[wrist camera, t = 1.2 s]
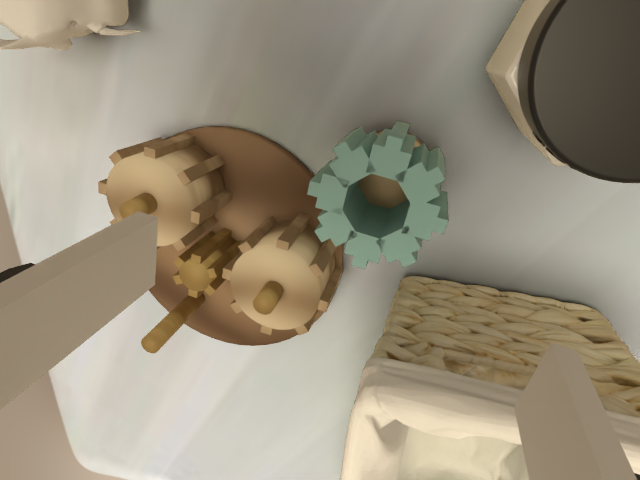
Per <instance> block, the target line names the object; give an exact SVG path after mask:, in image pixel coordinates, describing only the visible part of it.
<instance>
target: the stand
mask: <svg viewBox="0 0 640 480" xmlns="http://www.w3.org/2000/svg"><path fill="white" fill-rule="evenodd" d="M381 132H382V131H380V132H377V135H378V136H379V135H380V134H381ZM407 134H408V135H412V134H410V133H407ZM412 136H413V135H412ZM422 144H423V143H422V142H421V141H420V140H419V139H418V138H416V141H415V145H414V148H416V147H418V146H420V145H422ZM414 148H413V149H414ZM358 186H359V188H360V189H361V191H362V193H363V194H364V196H365V198H366V199H367V201H368V203H370V204H373V205H377V206H380V207H384V208H387V209H391V208H393V207H395V206H397V205H399V204H401V203H403V202H405V201H407V200H408V198H407V197H406V195H405V193H404V191H403V190H402V188H401V186H400V184H399V183H398V181H396V180H393V179H389V178H385V177H382V176H378V175H375V174H369V175H368V176H366V177H364V178H362V179H360V180H359V183H358Z"/></svg>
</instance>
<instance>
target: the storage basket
mask: <svg viewBox="0 0 640 480" xmlns="http://www.w3.org/2000/svg"><path fill="white" fill-rule="evenodd" d="M608 321H609V320H607V319H606V318H604V316H603V315H602V314H600V312H599V311H597V310H594V309H591V308H589V307H588V306H584V305H581V304H575V303H566V302H560V301H558V300H555V299H551V298H543V297H533V296H530V295H527V294H524V293H517V292H500V291H498V290H497V289H494V288H491V287H486V286H481V285H463V284H460V283H457V282H453V281H447V280H434V279H431V278H426V277H420V276H409V277H405V278H403V279H402V280H401V282H400V285H399V288H398V291H397V292H396V294H395V296H394V300H393V302H392V305H391V309H390V313H389V315H388V317H387V319H386V322H385V327H384V329H383V336H382V337H381V338H380V339H379V341H378V343H377V344H376V346H375V350H374V353H373V355H372V356H371V357H370V359H368V360H367V362H366V365H365V367H364V370H363V372H362V376H361V381H360V385H359V389H358V393H357V397H356V400H355V402H354V405H353V408H352V411H351V415H350V420H349V425H348V430H347V436H346V441H345V449H344V456H343V463H342V470H341V477H340V480H529V477H528V472H527V467H526V462H525V458H524V453H523V448H522V443H521V438H520V434H519V429H518V424H517V419H516V414H515V409H514V407H515V405H516V404H517V402H518V400H519V398H520V397H521V395H522V393H523V391H524V389H525V388H526V386H527V384H528V382H529V381H530V379H531V377H532V375H533V374H534V372H535V370H536V368H537V367H538V365H539V363H540V361H541V360H542V358H543V356H544V354H545V353H546V351H547V349H548V347H549V346H550V344H551V343H554V344H558V345H561V346H564V347H567V348H570V349H573V350H576V351H578V353H579V355H580V357H581V359H582V361H583V364H584V366H585V368H586V370H587V372H588V374H589V377H590V379H591V381H592V383H593V385H594V387H595V390H596V392H597V394H598V396H599V398H600V400H601V403H602V405H603V407H604V409H605V411H606V413H607V416H608V418H609V420H610V422H611V424H612V426H613V429H614V431H615V433H616V435H617V437H618V439H619V442H620V444H621V446H622V448H623V450H624V452H625V455H626V457H627V459H628V461H629V463H630V465H631V468H632V470H633V472H634V473H636V474H639V475H640V362H638V361H637V360H636V359H635V358H634V357H633V355H632V354H631V353H630V352H629V349H628V347H627V345H626V344H625V343H624V342H622V341H621V339H620V337H619V336H618V334H617V333H616V332H615V331H614V330H613V328H612V326H611V325H610V324H609V323H608Z"/></svg>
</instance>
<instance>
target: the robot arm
mask: <svg viewBox="0 0 640 480" xmlns="http://www.w3.org/2000/svg"><path fill="white" fill-rule="evenodd" d="M157 232H158V217H155V216H152V215H149V214H146V213H142V212H139V211H138V212H136V213H134V214H132V215H130V216H128V217H126V218H124V219H122V220H120V221H118V222H116V223H115V224H113V225H111V226H109V227H107V228H105V229H103V230H101V231H99V232H97V233H95V234H93V235H92V236H90V237H88V238H86V239H84V240H82V241H80V242H78V243H76V244H74V245H72V246H70V247H68V248H67V249H65V250H63V251H61V252H59V253H57V254H55V255H53V256H51V257H49V258H47V259H45V260H44V261H42V262H40V263H38V264H36V265H35V264H32V263H29V264H25V265H21V266H17V267H14V268H10V269H7V270H5V271H3V272H1V273H0V410H1V409H2V408H3V407H4V406H6V405H7V404H8V403H9V402H10V401H12V400H13V399H14V398H16V397H17V396H18V395H19V394H20V393H22V392H23V391H24V390H25V389H27V388H28V387H29V386H30V385H32V384H33V383H34V382H35V381H37V380H38V379H39V378H40V377H41V376H43V375H44V374H45V373H46V372H48V371H49V370H50V369H51V368H53V367H54V366H55V365H56V364H58V363H59V362H60V361H61V360H63V359H64V358H65V357H66V356H68V355H69V354H70V353H71V352H72V351H74V350H75V349H76V348H77V347H79V346H80V345H81V344H82V343H84V342H85V341H86V340H87V339H89V338H90V337H91V336H92V335H93V334H95V333H96V332H97V331H98V330H100V329H101V328H102V327H103V326H105V325H106V324H107V323H108V322H110V321H111V320H112V319H113V318H115V317H116V316H117V315H118V314H119V313H121V312H122V311H123V310H124V309H126V308H127V307H128V306H129V305H131V304H132V303H133V302H134V301H136V300H137V299H138V298H139V297H140V296H142V295H143V294H144V293H145V292H147V291H148V290H149V289H150V288H152V287H153V286H154V285H155V275H156V254H157ZM514 409H515V414H516V419H517V424H518V429H519V434H520V438H521V443H522V448H523V453H524V458H525V462H526V467H527V472H528V477H529V480H640V475H639V474H636V473H634V472H633V470H632V468H631V465H630V463H629V461H628V459H627V457H626V455H625V452H624V450H623V448H622V446H621V444H620V442H619V439H618V437H617V435H616V433H615V431H614V429H613V426H612V424H611V422H610V420H609V418H608V416H607V413H606V411H605V409H604V407H603V405H602V403H601V400H600V398H599V396H598V394H597V392H596V390H595V387H594V385H593V383H592V381H591V379H590V377H589V374H588V372H587V370H586V368H585V366H584V364H583V361H582V359H581V357H580V355H579V353H578V351H576V350H573V349H570V348H567V347H564V346H561V345H558V344H554V343H551V344H550V346H549V347H548V349H547V351H546V353H545V354H544V356H543V358H542V360H541V361H540V363H539V365H538V367H537V368H536V370H535V372H534V374H533V375H532V377H531V379H530V381H529V382H528V384H527V386H526V388H525V389H524V391H523V393H522V395H521V397H520V398H519V400H518V402H517V404H516V405H515V407H514Z"/></svg>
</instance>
